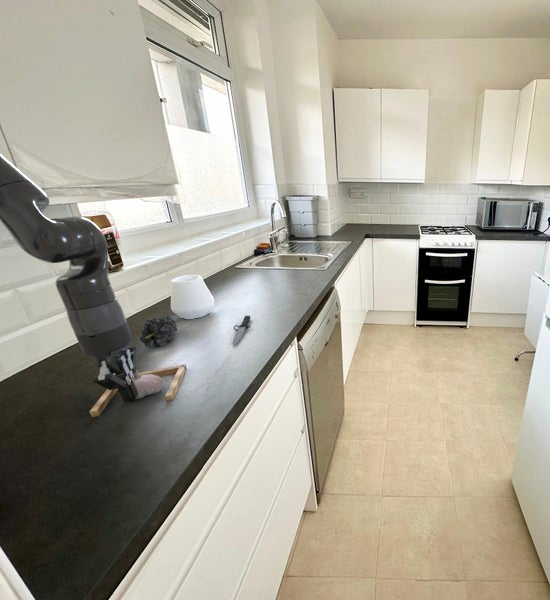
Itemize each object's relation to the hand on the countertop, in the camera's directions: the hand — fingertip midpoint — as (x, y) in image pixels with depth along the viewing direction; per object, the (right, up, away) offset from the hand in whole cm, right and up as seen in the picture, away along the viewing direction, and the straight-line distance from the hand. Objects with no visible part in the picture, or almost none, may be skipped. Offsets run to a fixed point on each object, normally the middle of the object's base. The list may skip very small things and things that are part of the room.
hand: (131, 398), depth 66 cm
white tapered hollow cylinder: (-17, +15, +48) cm, 53 cm away
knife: (+6, +10, +34) cm, 36 cm away
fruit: (-15, +8, +30) cm, 35 cm away
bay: (-2, -1, +6) cm, 7 cm away
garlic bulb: (-1, -1, +5) cm, 6 cm away
